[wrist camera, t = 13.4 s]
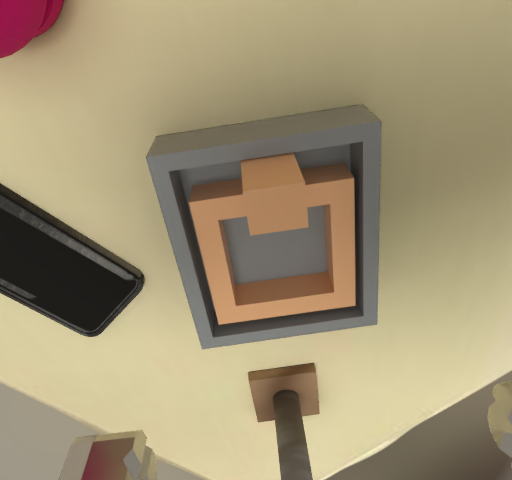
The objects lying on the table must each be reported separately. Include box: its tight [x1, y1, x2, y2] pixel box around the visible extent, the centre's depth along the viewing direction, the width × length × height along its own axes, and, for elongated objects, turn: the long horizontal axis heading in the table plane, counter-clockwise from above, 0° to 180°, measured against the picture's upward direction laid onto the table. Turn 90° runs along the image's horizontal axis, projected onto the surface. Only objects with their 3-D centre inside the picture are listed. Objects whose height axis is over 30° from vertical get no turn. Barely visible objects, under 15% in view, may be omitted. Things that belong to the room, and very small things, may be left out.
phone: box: [0, 184, 144, 337], centre depth 30 cm, size 8×1×15 cm
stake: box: [249, 363, 320, 480], centre depth 34 cm, size 6×6×12 cm
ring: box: [189, 152, 356, 325], centre depth 26 cm, size 10×12×7 cm
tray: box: [146, 104, 381, 349], centre depth 28 cm, size 13×15×4 cm
